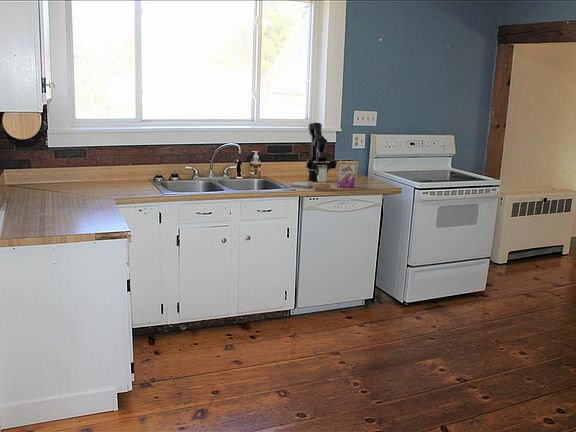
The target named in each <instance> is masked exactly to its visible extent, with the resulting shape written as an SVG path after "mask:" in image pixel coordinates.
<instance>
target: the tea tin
mask: <svg viewBox="0 0 576 432" xmlns="http://www.w3.org/2000/svg"><path fill="white" fill-rule="evenodd" d="M318 173H319V175H318V176H317V181H316V182H319V183H321V182H322V183H323V182H325V183H326V182H327V176H328V173H327V166H318Z"/></svg>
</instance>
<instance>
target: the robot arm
mask: <svg viewBox="0 0 576 432" xmlns="http://www.w3.org/2000/svg"><path fill="white" fill-rule="evenodd" d="M322 127H323V126H322V123H321V122H310V123H309V124H308V133H309V135H310V136H311V157H310V159H308V158H307V160H306V163H305V164H306V165H305V167H306V169H307V172H308V178H307V179H306V180H307V181H310V182H318V181H317V176H318V175H319V173H318V166H326V167H327V174H328V173H329V171H330V170H331V169H333V170H335V169H336V168H337V164H338V161H337V160H336V159H335V160H332V159H330V160H329V162H327V158H330V157H331V155H330V154H331V153H330V151H326V149H327V145H328V140H327V139H326V138H325V137H324V136H323V133H322V129H323V128H322Z"/></svg>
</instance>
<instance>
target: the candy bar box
mask: <svg viewBox="0 0 576 432" xmlns="http://www.w3.org/2000/svg"><path fill="white" fill-rule="evenodd" d="M356 168H357V162H356V161H345V160H339V161H338V166H337V169H338V171H337V180H336V181H337V182H336V183H337V185H336V187H341V188H355V183H356V182H355V180H356V179H355V178H356Z"/></svg>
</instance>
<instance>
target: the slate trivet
mask: <svg viewBox="0 0 576 432" xmlns="http://www.w3.org/2000/svg"><path fill="white" fill-rule="evenodd" d="M313 184H315V183H314V182H306V181H305V182H303V181H294V182H292V183H290V184H289V187H290V186H292V187H293V188H299V187H300V189H309V188H313ZM292 187H291V188H292Z"/></svg>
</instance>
